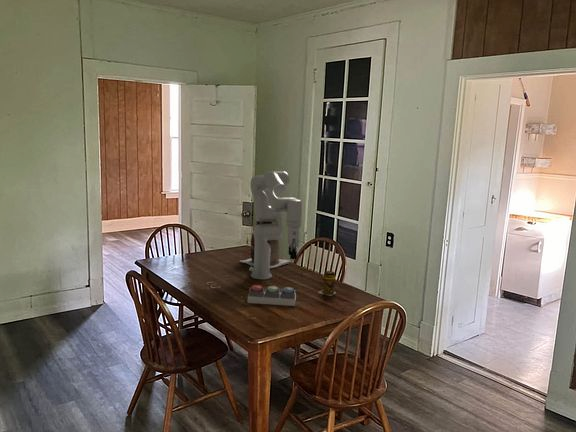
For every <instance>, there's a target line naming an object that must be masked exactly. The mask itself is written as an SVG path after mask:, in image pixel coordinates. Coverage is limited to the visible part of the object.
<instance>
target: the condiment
mask: <svg viewBox="0 0 576 432" xmlns="http://www.w3.org/2000/svg"><path fill="white" fill-rule="evenodd" d="M335 285H336V277H335V271H333V270H326V271H325V272H324V276H323V285H322V287H323V288H322V289H321V290H319V291H318V292H317V294H320V295H325V296H329V297H332V296H334V295H336V293H337V292H336V291H335Z"/></svg>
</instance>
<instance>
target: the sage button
mask: <svg viewBox="0 0 576 432" xmlns="http://www.w3.org/2000/svg"><path fill="white" fill-rule="evenodd" d="M267 288H268V289H267V292H270V293H277V292H278V289H279V288H278V286H276V285H274V286H273V285H270V286H267Z"/></svg>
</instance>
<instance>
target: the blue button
mask: <svg viewBox="0 0 576 432" xmlns="http://www.w3.org/2000/svg"><path fill="white" fill-rule="evenodd" d="M282 289H283V293H286V294H293V290H294V288H293V287H290V286H285V287H283V288H282Z"/></svg>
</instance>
